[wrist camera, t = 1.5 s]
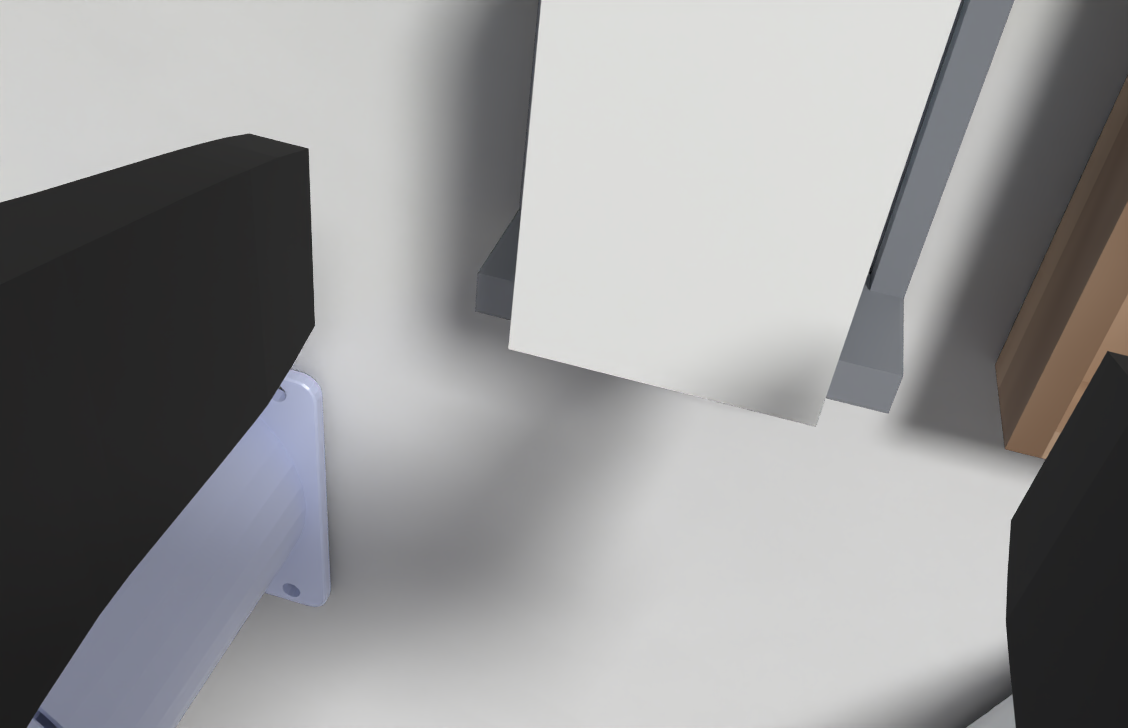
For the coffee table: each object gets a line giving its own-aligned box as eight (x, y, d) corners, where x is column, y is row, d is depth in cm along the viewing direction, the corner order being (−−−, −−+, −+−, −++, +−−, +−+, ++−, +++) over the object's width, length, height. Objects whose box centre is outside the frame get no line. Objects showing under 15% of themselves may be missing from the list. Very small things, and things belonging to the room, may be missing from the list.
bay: (525, 231, 21) (475, 311, 18) (587, -409, 14) (525, -413, 12) (891, 317, 19) (888, 413, 17) (1128, -332, 13) (1176, -320, 11)
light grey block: (605, 170, 19) (508, 348, 15) (668, -259, 15) (561, -202, 10) (839, 223, 19) (815, 426, 14) (973, -211, 15) (1004, -126, 10)
